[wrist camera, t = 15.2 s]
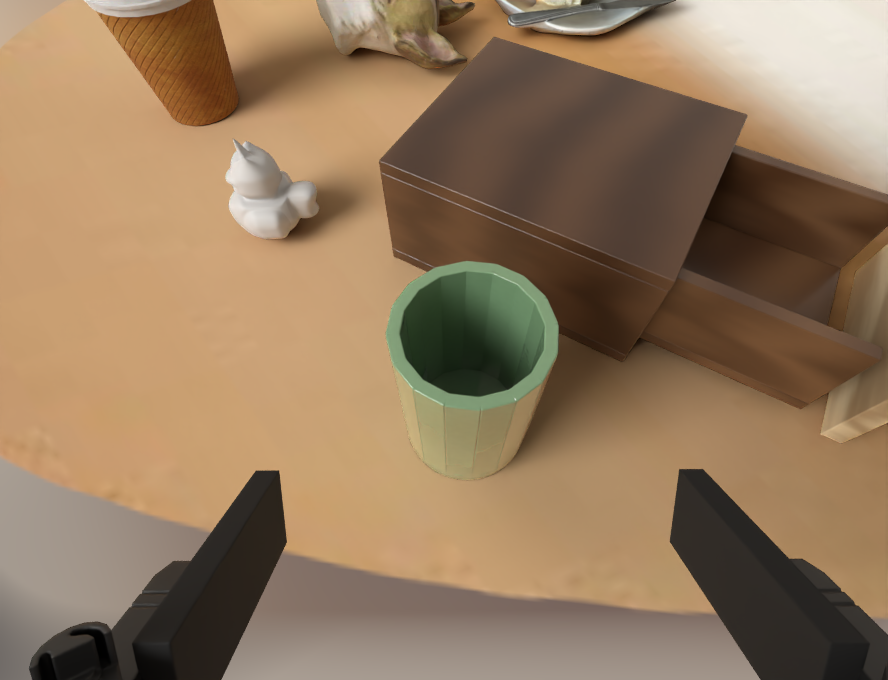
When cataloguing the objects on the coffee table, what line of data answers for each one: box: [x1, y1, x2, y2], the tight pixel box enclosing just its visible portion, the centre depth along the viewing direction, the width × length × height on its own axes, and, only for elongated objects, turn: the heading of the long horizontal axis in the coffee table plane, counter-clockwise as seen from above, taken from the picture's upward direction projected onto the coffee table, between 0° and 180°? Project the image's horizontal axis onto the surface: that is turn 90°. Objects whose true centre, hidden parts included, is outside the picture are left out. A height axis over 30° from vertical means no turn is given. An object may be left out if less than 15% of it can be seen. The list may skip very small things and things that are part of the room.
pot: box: [386, 261, 559, 480], centre depth 26 cm, size 7×7×11 cm
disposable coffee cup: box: [84, 0, 239, 126], centre depth 41 cm, size 10×10×12 cm
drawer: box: [640, 145, 888, 444], centre depth 30 cm, size 23×14×7 cm, turn 60°
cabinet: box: [379, 37, 747, 362], centre depth 34 cm, size 18×15×9 cm
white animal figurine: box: [225, 139, 319, 239], centre depth 35 cm, size 5×7×8 cm
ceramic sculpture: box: [316, 0, 475, 69], centre depth 46 cm, size 11×9×15 cm
